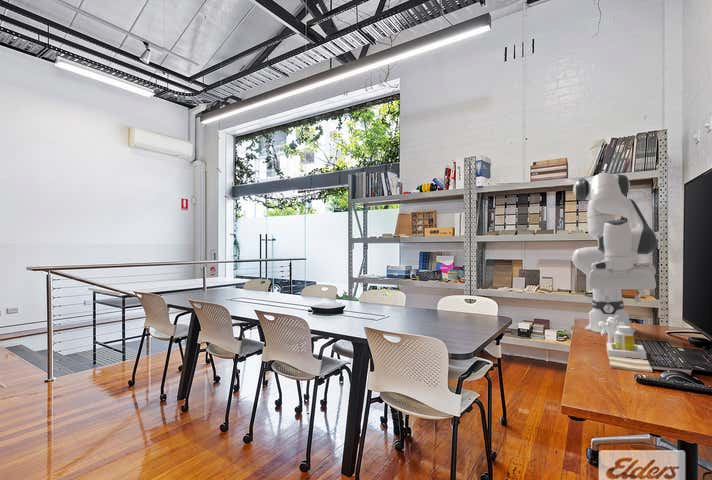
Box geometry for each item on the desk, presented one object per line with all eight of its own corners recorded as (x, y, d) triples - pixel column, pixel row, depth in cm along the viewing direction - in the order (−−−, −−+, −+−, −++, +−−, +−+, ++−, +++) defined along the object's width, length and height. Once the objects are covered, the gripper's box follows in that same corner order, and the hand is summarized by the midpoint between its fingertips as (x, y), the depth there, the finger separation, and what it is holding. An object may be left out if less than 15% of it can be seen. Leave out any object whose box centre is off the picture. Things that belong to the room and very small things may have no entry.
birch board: (608, 358, 133) (608, 356, 133) (647, 362, 127) (647, 359, 127) (610, 368, 123) (610, 365, 123) (652, 372, 118) (652, 369, 118)
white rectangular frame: (606, 349, 144) (606, 342, 144) (642, 351, 138) (641, 345, 138) (608, 357, 135) (608, 350, 135) (646, 360, 129) (646, 353, 129)
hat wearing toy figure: (625, 344, 149) (623, 314, 149) (628, 346, 145) (625, 316, 146) (599, 342, 153) (597, 313, 153) (601, 345, 149) (598, 315, 149)
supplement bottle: (637, 354, 136) (635, 326, 136) (632, 357, 132) (630, 329, 133) (619, 351, 140) (617, 324, 140) (614, 354, 137) (612, 327, 137)
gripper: (653, 262, 134) (656, 300, 134) (587, 264, 145) (589, 299, 145) (656, 263, 129) (659, 303, 128) (587, 265, 140) (589, 301, 139)
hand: (622, 301), depth 137 cm, fingers open, 8 cm apart
